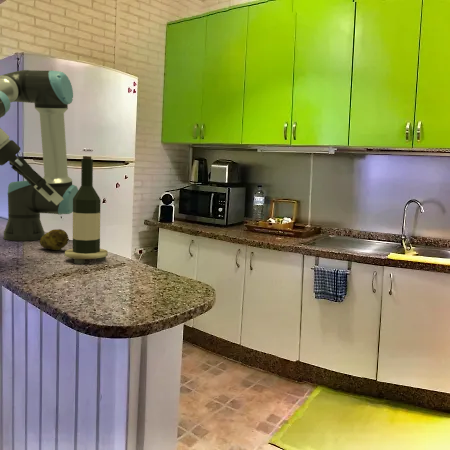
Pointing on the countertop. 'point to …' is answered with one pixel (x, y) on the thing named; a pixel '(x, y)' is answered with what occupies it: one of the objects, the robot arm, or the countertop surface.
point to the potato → (54, 239)
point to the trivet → (86, 256)
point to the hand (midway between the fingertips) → (56, 200)
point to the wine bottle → (86, 212)
